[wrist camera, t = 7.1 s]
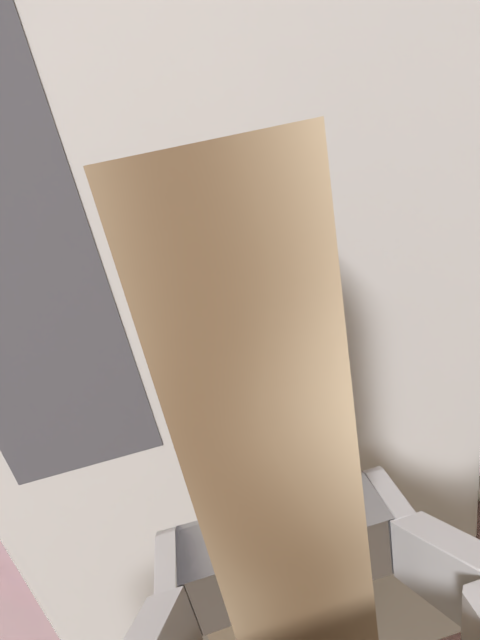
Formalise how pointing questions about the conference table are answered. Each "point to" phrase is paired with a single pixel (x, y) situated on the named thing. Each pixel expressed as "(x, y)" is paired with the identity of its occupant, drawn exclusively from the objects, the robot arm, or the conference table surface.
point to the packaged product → (479, 490)
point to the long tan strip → (251, 367)
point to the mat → (110, 302)
